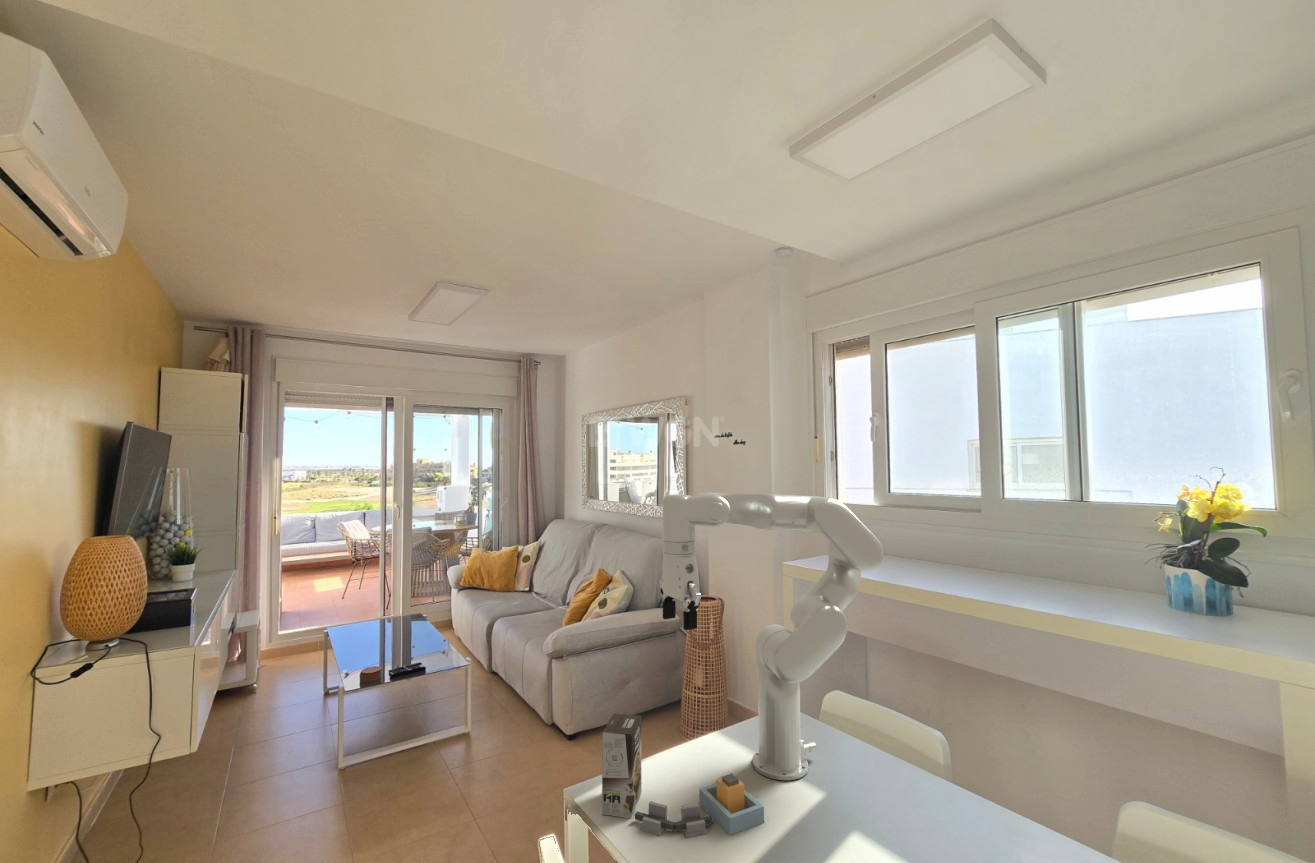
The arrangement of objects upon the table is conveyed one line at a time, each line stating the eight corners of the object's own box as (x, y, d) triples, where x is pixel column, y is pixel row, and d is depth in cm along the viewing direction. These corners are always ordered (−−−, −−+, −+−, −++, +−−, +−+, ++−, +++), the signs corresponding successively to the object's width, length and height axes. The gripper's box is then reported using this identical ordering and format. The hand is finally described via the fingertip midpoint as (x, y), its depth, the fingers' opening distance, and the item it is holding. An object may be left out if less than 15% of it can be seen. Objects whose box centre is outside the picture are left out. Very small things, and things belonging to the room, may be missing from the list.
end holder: (731, 792, 118) (731, 778, 118) (764, 822, 108) (764, 806, 108) (699, 803, 114) (699, 788, 114) (730, 835, 104) (730, 818, 105)
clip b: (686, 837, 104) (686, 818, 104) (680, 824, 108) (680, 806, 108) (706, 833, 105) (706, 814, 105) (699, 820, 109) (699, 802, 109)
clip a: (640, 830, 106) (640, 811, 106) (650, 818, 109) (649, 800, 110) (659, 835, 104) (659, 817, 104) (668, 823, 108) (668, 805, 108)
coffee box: (632, 819, 109) (632, 734, 110) (600, 815, 110) (601, 731, 111) (642, 792, 118) (642, 714, 119) (613, 789, 119) (613, 712, 120)
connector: (733, 804, 114) (732, 770, 114) (744, 815, 110) (744, 780, 111) (716, 810, 112) (716, 775, 112) (727, 821, 108) (727, 785, 109)
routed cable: (712, 820, 108) (712, 815, 108) (712, 833, 104) (712, 827, 104) (635, 816, 109) (635, 811, 109) (632, 828, 105) (632, 823, 105)
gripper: (713, 552, 122) (713, 631, 121) (674, 542, 138) (675, 612, 137) (683, 554, 119) (684, 636, 118) (647, 544, 134) (648, 616, 133)
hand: (679, 623), depth 127 cm, fingers open, 9 cm apart
